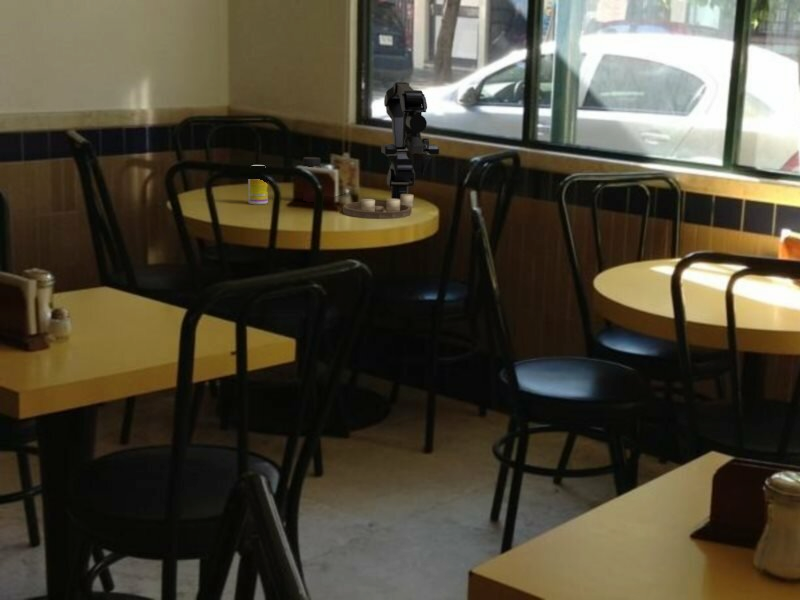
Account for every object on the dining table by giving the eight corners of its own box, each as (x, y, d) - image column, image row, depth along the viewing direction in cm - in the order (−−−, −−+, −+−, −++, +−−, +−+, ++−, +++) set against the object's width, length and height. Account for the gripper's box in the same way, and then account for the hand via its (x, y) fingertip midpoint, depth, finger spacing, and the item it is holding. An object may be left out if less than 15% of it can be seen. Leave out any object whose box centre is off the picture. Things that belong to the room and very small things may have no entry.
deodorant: (300, 200, 447) (301, 157, 444) (316, 199, 450) (317, 157, 446) (305, 203, 442) (306, 159, 439) (321, 202, 444) (322, 159, 441)
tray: (337, 210, 429) (337, 201, 429) (400, 209, 435) (401, 201, 434) (352, 221, 409) (352, 212, 408) (418, 220, 414) (419, 212, 414)
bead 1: (359, 214, 418) (360, 198, 417) (372, 214, 419) (373, 198, 418) (362, 216, 414) (363, 201, 413) (376, 216, 415) (376, 200, 414)
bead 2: (384, 213, 420) (385, 198, 419) (397, 213, 421) (398, 198, 420) (388, 216, 416) (388, 200, 415) (401, 215, 417) (401, 200, 416)
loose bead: (398, 208, 437) (399, 193, 436) (411, 208, 438) (411, 193, 437) (401, 210, 433) (402, 195, 432) (414, 210, 434) (415, 195, 433)
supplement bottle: (270, 204, 436) (270, 166, 433) (251, 205, 434) (251, 167, 431) (264, 201, 442) (265, 164, 439) (245, 202, 440) (246, 164, 437)
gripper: (390, 131, 418) (388, 179, 422) (445, 131, 422) (443, 178, 426) (381, 127, 428) (380, 173, 432) (435, 127, 433) (433, 173, 437)
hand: (409, 175), depth 431 cm, fingers open, 9 cm apart
